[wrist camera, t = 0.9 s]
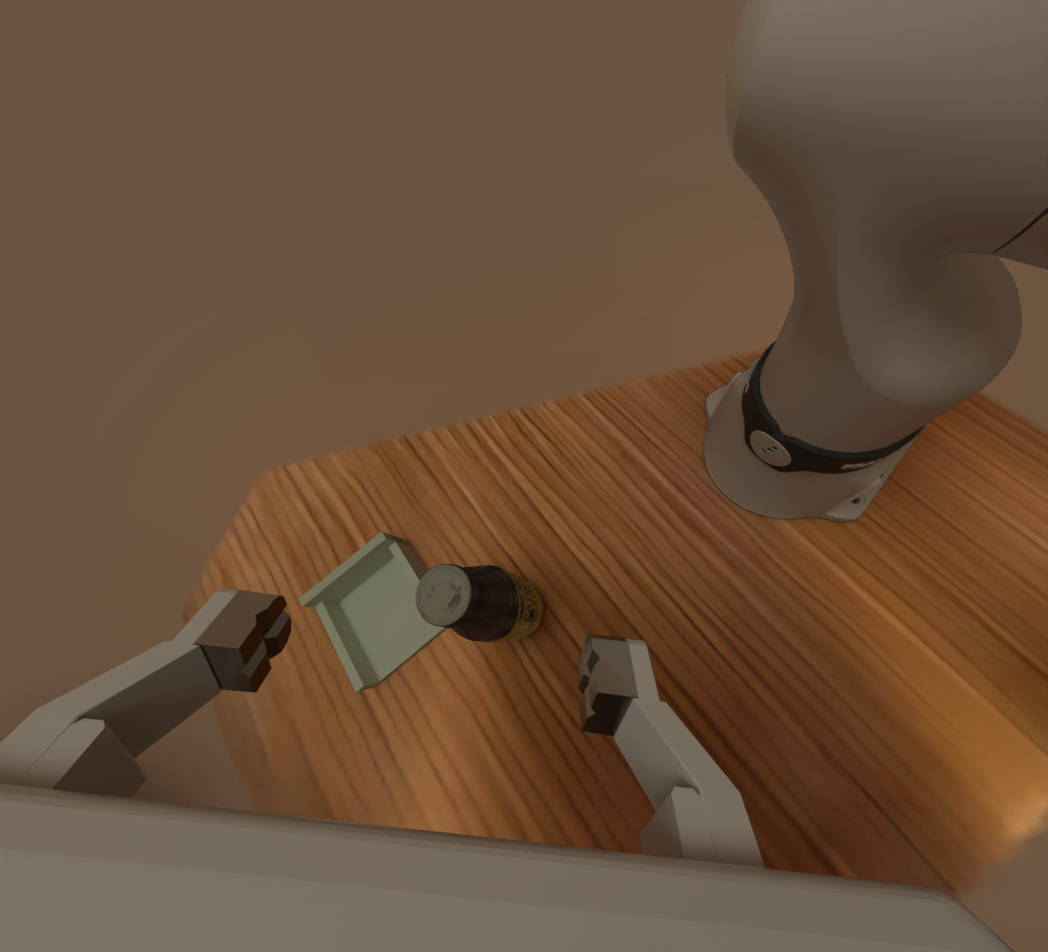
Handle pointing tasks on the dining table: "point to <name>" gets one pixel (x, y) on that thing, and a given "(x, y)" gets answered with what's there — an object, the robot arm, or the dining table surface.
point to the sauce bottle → (479, 602)
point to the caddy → (373, 610)
